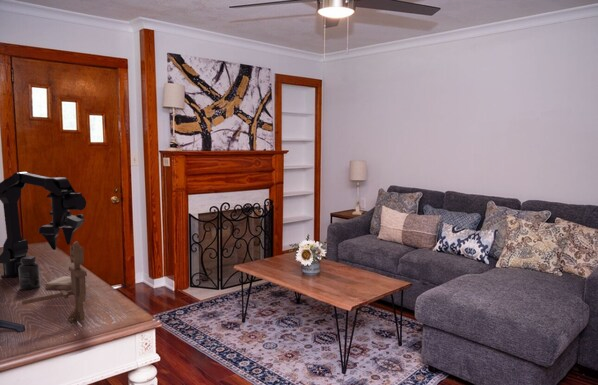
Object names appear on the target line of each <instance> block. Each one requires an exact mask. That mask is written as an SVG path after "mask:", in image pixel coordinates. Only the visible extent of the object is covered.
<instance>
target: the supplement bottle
mask: <svg viewBox="0 0 598 385" xmlns="http://www.w3.org/2000/svg"><path fill="white" fill-rule="evenodd" d="M36 261H37V259H36V256H35V255H29V256H28V255H26V257H22V258H21V263H22V264H21V265H20V266H19V268H18V269H19V276H18V280H19V281H18V282H19V289H20V290H24V291H29V290H34V289H38V288H40V286H41V276H40V265H39V263H37V262H36Z"/></svg>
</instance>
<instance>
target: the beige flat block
mask: <svg viewBox="0 0 598 385" xmlns="http://www.w3.org/2000/svg"><path fill="white" fill-rule="evenodd" d="M44 286H45V289H47V290H67V289H69V290H68V291H71V290H72V286H71V275H70V276H68V275H67V276H66V275H65V276H64V275H62V276H60V277H57V278H55V279H53V280H51V281H49V282H46V283H45V285H44Z"/></svg>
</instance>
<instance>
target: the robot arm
mask: <svg viewBox="0 0 598 385" xmlns="http://www.w3.org/2000/svg"><path fill="white" fill-rule="evenodd" d="M26 184H29V185H31V186H36V187H37V186H38V187H42V188H44V189H45V191H48V192H49V194H47V195H46V198H50V199H51V211H49V215H50V216H51V217H52V219H51V220H52V221H50V222H49V224H45V225H42V226H39V228H38V234H40V235H41V236H43V237H44V238H45V240H46V241H47V243H48V244H49V246H50V249H52V251H56V250H57V241H58V240H57V239H58V236H59V235H60V234H61V233H60V230H61V229H62V233H63V235H64V236H63V237H64V238H65V243H66V245H67V246H68V245H70V246H71V242H72V240H73V236H74V234H75V231H77V229H79V228H81V227H82V224H83V223H85V217H84V214H82V213H80V214H77V215H73V214H72V211H83V210H84V209H86V206H87V200H86V197H84V196H83V194H82V192H76V191H75V189H74V187H73V186H72V184H71V183H70V181H69V178H67V177H61V176H60V177H56V176H54V177H49V176H44V175H39V174H34V173H29V172H27V171H16V172H15V173H13V174H12V175H11V176H8V177H7V178H5V179H4V180H2V181H0V201H1V203H2V206H3V213H4V222H5V234H6V238H5V241H4V243H3V245H2V246H3V247H2V248H3V250H2V252H1V254H0V264H2V265H3V266H2V267H3V268H2V269H3V274H2V275H0V277H1V278H16V277H19V269H18V268H19V266H20V265H21V264H22V263H21V258H22V257H26V256H27V254H28V250H29V249H30V247H29V245H28V244H29V241H28V239H24V238H23V237H22V232H21V224H20V223H21V222H20V214H19V213H20V212H19V205H18V203H19V200H20V198H21V196H22V189H24V188H25V187H26Z"/></svg>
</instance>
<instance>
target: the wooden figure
mask: <svg viewBox="0 0 598 385" xmlns="http://www.w3.org/2000/svg"><path fill="white" fill-rule="evenodd" d="M69 256H70V258H69V259H70V263H71V264H73V265H69V266H68V271H69V272H70V277H71V286H72V289H71V290H68V291H66V289H60V290H59V293H58V292H57V293H52V294H48V295H43V296H38V297H31V298H26V299H23V300H21V305H22V306H24V305H28V304H33V303H39V302H44V301H49V300H53V299H58V298H59V299H60V298H63V299H64V300H66V299H69V296H74V309H73V310H72V311H71V313H70V314H69V315H68V316H67V317H66V319H67V320H69V323H70V324H74V323H77V324H78V325H79V327H81V328H82V327H83V326H82V325H83V324H81V322H82V321H84V320H85V311H84V303H85V302H86V294H87V292H86V281H85V280H86V277H87V276H88V274H87V271H86V270H85V269H84V268H83V267H82V266H81V265H83V264H84V263H85V257H84V247H83V246H81V245H80V244H79V241H77V240H76V241H74V242H73V243H72V245H70V246H69Z"/></svg>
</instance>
